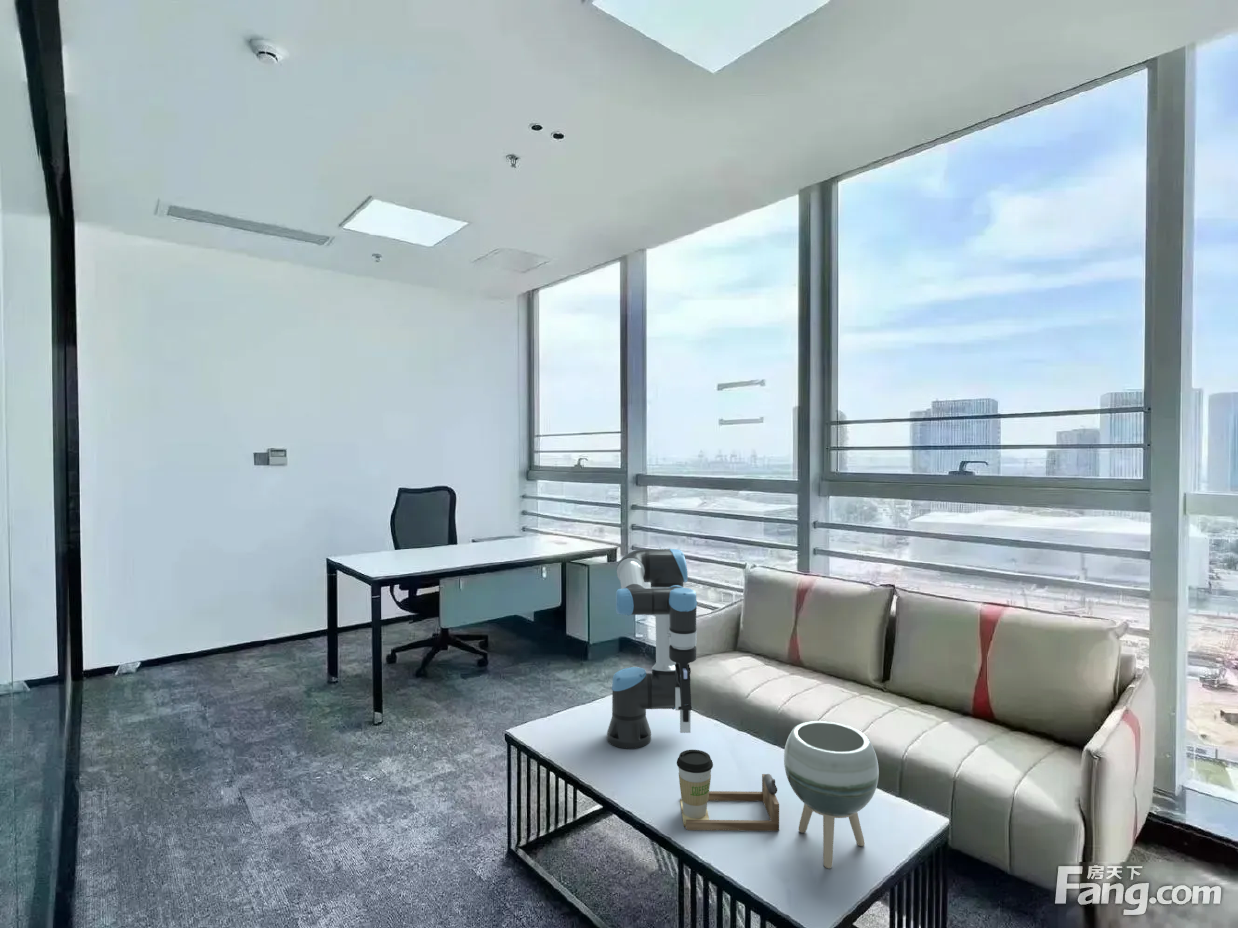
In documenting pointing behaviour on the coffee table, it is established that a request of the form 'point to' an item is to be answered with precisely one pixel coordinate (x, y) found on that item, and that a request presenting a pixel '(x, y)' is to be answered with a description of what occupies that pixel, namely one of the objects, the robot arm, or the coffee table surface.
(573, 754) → the coffee table surface
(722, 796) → the bay
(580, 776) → the coffee table surface
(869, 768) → the planter
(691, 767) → the coffee cup
